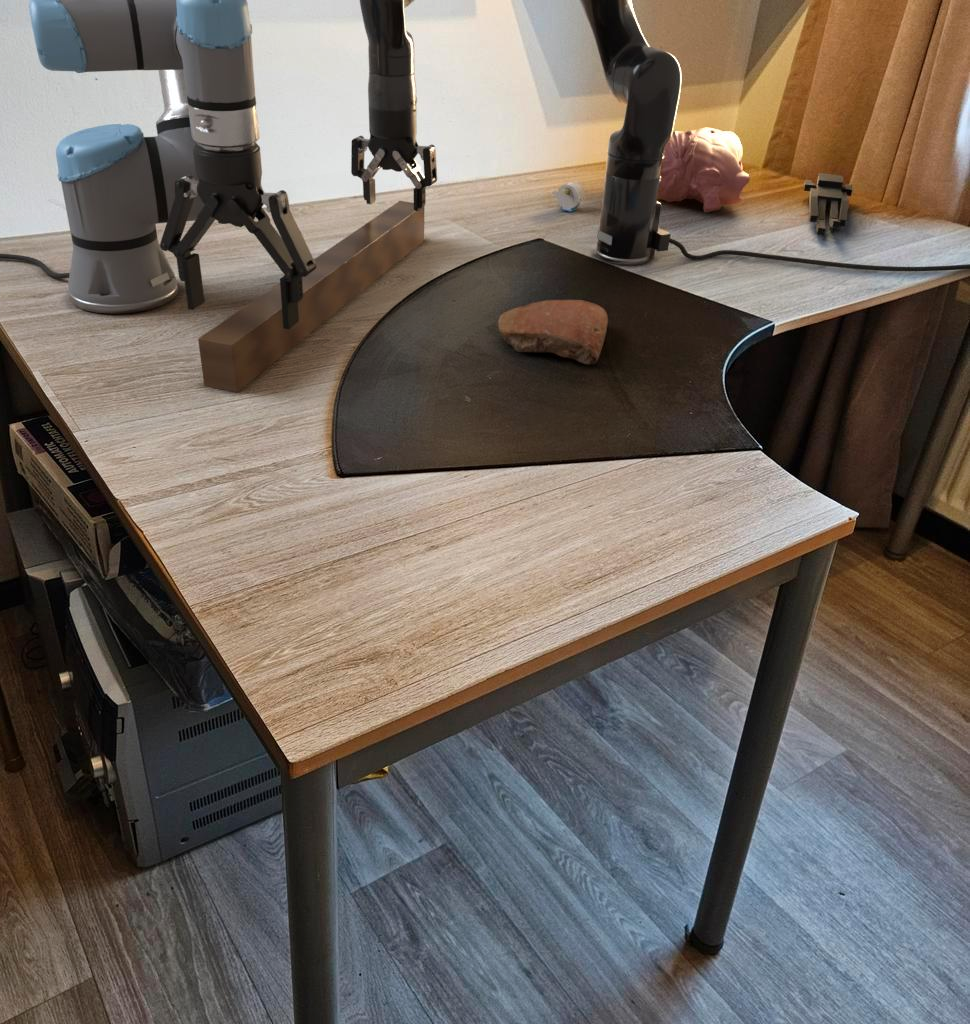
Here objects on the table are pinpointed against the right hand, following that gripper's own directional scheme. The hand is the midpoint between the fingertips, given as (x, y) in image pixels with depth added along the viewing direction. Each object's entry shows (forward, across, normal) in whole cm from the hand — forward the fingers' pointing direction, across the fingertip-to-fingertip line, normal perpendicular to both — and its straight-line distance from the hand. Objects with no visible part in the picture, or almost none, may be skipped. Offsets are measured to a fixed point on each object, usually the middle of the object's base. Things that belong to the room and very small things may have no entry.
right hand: (394, 206), depth 160 cm
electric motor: (+8, +21, +36) cm, 43 cm away
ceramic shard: (+8, +35, -24) cm, 43 cm away
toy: (+9, +69, +56) cm, 89 cm away
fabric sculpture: (+9, +40, +63) cm, 75 cm away
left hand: (0, 0, -48) cm, 48 cm away
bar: (+7, 0, -24) cm, 25 cm away
